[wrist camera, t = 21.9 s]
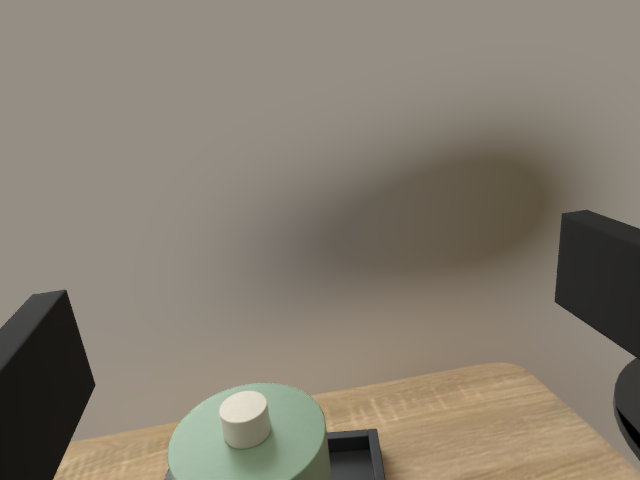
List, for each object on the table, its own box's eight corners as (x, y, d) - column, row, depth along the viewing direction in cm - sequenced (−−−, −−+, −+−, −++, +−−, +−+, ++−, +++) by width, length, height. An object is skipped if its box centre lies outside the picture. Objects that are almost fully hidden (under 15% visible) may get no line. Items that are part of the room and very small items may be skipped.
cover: (335, 480, 38) (322, 353, 34) (341, 617, 28) (323, 462, 24) (213, 490, 38) (185, 365, 34) (178, 628, 28) (134, 477, 24)
